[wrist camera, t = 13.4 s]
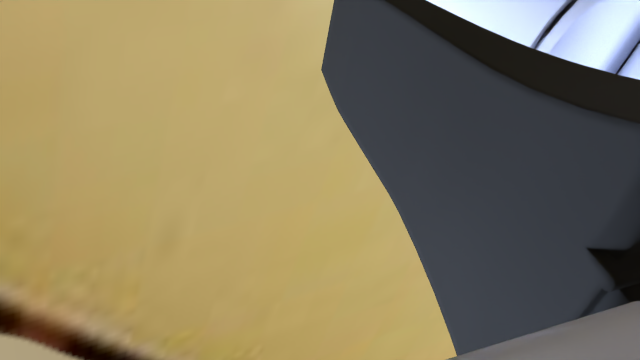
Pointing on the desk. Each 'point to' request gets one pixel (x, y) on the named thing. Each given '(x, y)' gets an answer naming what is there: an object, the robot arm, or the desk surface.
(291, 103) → the desk surface
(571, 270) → the robot arm
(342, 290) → the desk surface
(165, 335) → the desk surface
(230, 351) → the desk surface
